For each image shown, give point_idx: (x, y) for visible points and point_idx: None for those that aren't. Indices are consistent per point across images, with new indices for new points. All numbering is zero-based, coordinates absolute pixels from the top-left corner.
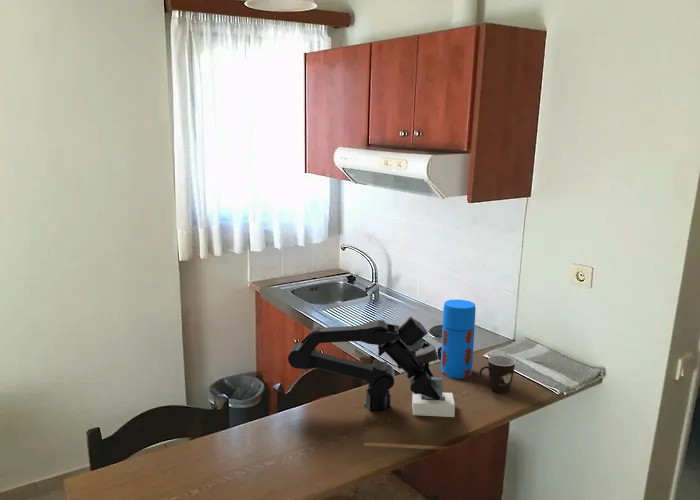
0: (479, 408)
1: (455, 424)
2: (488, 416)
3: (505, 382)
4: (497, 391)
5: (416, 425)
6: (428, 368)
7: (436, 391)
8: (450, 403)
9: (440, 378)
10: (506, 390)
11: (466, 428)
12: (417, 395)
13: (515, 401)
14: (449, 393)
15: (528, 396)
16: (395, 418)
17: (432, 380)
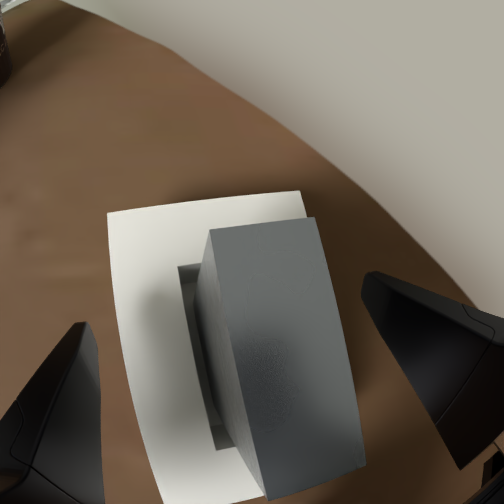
0: (125, 121)
1: (317, 220)
2: (196, 93)
3: (3, 32)
4: (2, 79)
5: (382, 397)
6: (19, 487)
7: (419, 296)
8: (286, 218)
9: (271, 254)
10: (9, 54)
11: (332, 176)
12: (230, 473)
13: (69, 36)
14: (120, 231)
15: (42, 21)
16: (345, 500)
17: (346, 372)
